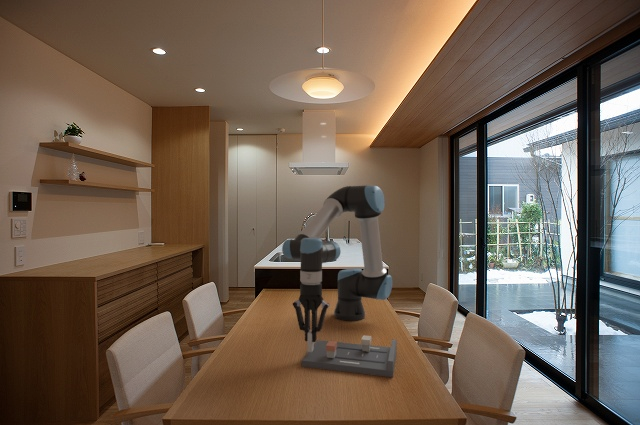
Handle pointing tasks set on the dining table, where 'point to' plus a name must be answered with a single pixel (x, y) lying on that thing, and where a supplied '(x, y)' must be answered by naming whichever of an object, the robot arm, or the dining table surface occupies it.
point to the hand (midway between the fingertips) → (310, 350)
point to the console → (353, 358)
